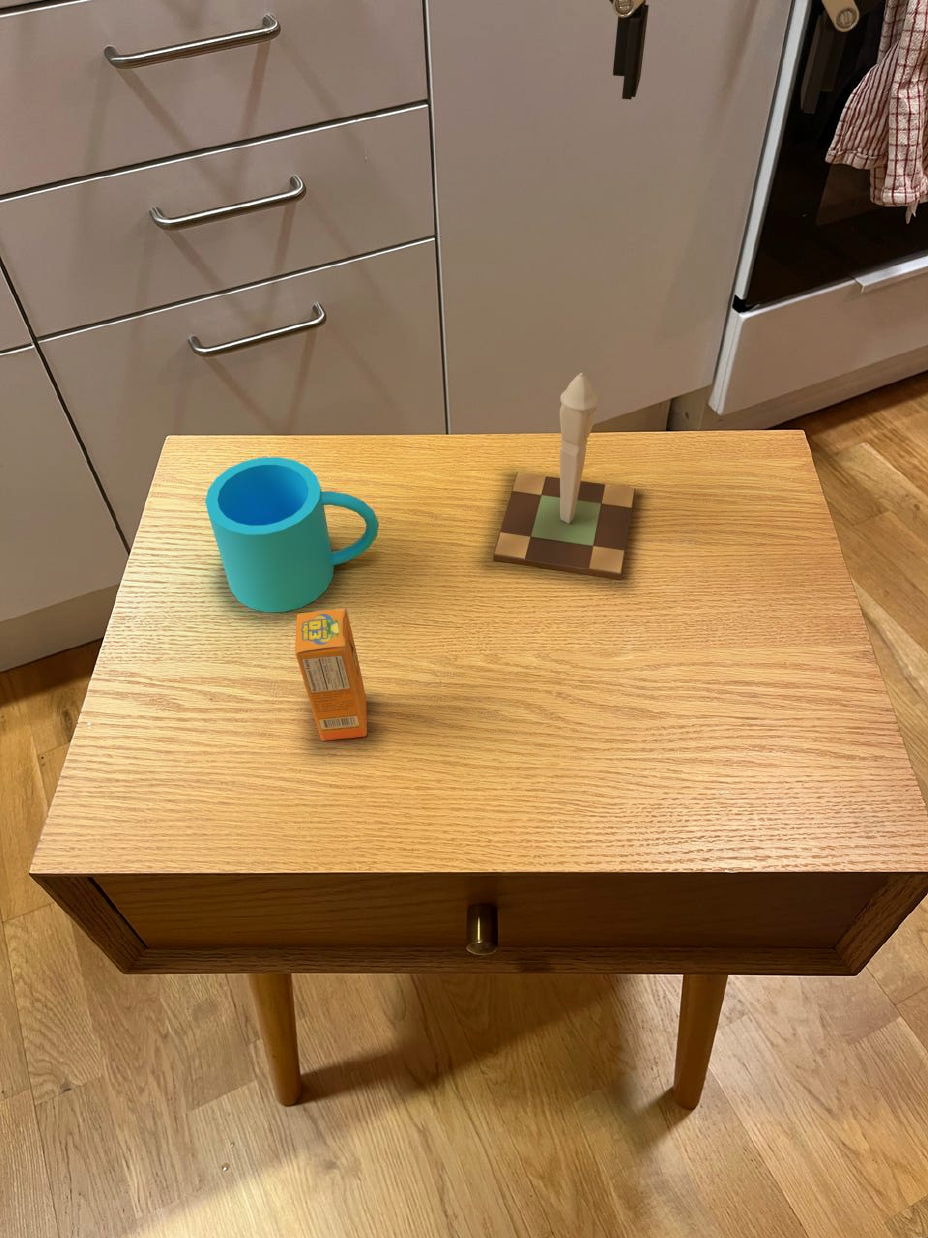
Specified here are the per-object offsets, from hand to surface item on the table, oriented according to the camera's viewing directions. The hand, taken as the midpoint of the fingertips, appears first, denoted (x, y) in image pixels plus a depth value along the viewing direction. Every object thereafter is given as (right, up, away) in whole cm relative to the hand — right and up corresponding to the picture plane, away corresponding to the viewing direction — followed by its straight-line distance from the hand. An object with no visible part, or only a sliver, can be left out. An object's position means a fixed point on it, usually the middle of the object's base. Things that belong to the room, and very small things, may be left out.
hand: (717, 96), depth 53 cm
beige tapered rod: (-6, -21, +24) cm, 32 cm away
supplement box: (-22, -36, +12) cm, 44 cm away
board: (-6, -21, +24) cm, 33 cm away
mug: (-26, -25, +22) cm, 42 cm away
